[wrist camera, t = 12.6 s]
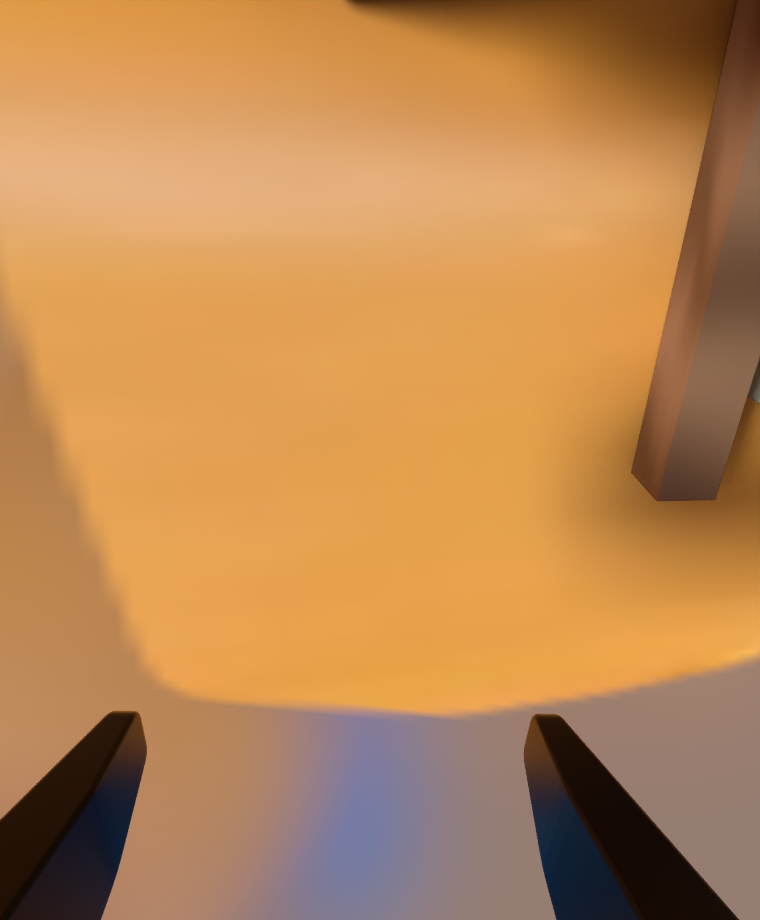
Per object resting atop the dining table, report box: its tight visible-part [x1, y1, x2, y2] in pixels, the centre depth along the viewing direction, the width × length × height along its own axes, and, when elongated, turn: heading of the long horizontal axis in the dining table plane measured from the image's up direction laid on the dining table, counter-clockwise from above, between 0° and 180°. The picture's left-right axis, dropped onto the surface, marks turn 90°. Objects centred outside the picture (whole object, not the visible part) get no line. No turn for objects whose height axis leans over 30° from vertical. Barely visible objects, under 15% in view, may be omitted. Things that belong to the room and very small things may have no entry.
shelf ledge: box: [631, 0, 760, 501], centre depth 16 cm, size 15×2×2 cm, turn 0°
